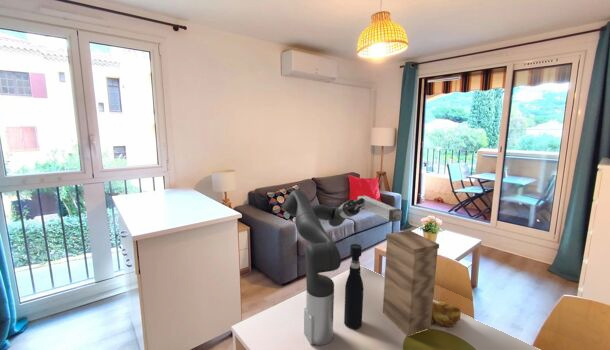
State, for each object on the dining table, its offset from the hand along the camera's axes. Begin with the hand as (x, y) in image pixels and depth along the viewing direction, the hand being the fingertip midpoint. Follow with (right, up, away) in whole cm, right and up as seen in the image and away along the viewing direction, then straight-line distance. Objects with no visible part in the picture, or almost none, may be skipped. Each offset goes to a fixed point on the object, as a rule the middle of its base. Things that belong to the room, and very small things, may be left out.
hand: (367, 199), depth 124 cm
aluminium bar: (+3, -5, -6) cm, 8 cm away
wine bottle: (-10, -44, -20) cm, 49 cm away
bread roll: (+23, -44, -18) cm, 52 cm away
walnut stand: (+10, -43, -18) cm, 48 cm away
